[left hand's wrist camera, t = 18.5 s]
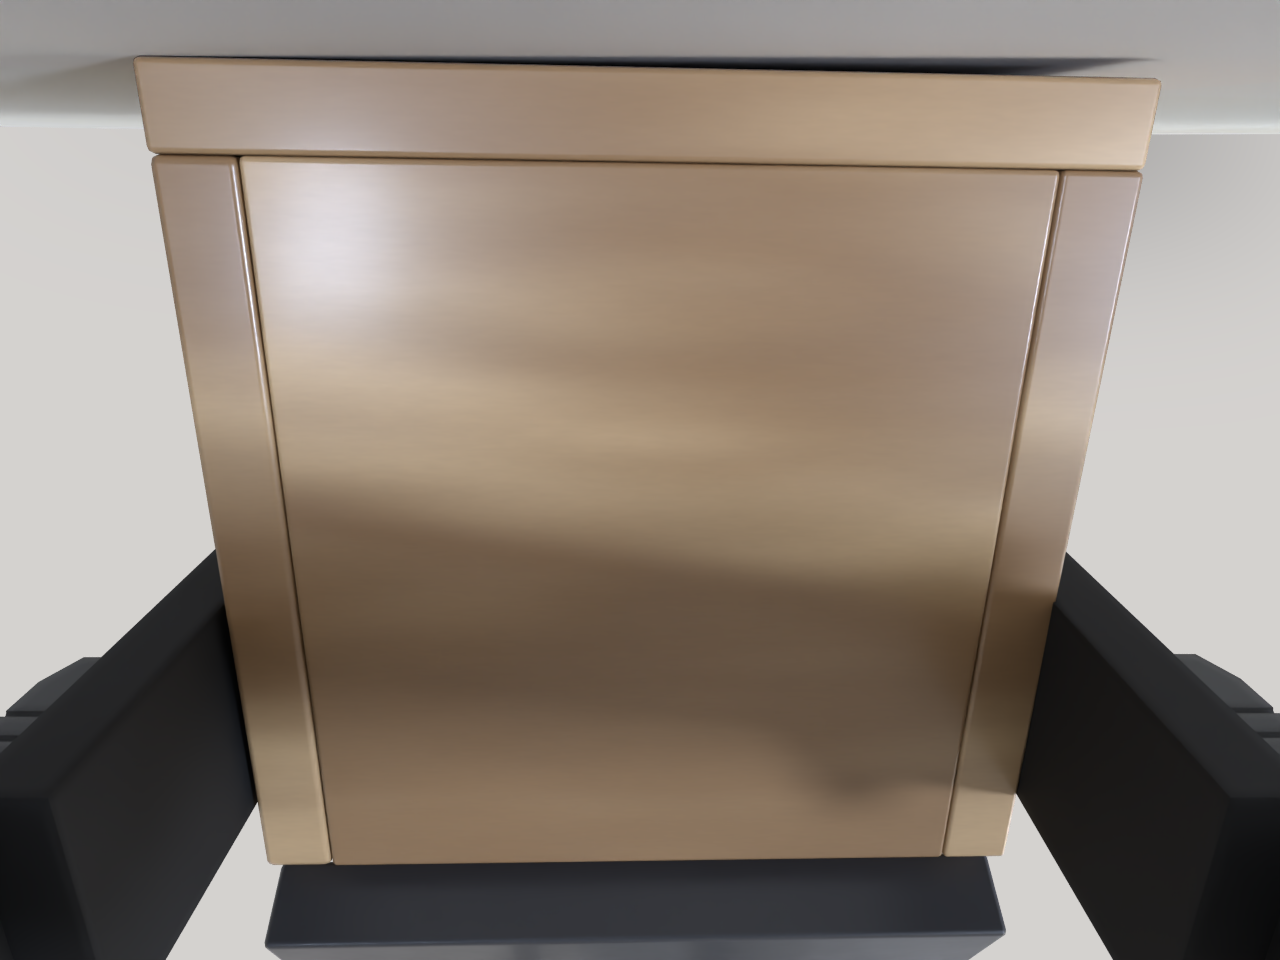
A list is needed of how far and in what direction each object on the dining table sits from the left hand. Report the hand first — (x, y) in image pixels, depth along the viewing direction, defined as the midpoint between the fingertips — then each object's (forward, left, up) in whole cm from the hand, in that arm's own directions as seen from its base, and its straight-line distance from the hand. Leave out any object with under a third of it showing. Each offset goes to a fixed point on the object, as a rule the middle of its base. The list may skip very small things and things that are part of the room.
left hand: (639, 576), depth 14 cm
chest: (+3, -4, -7) cm, 8 cm away
